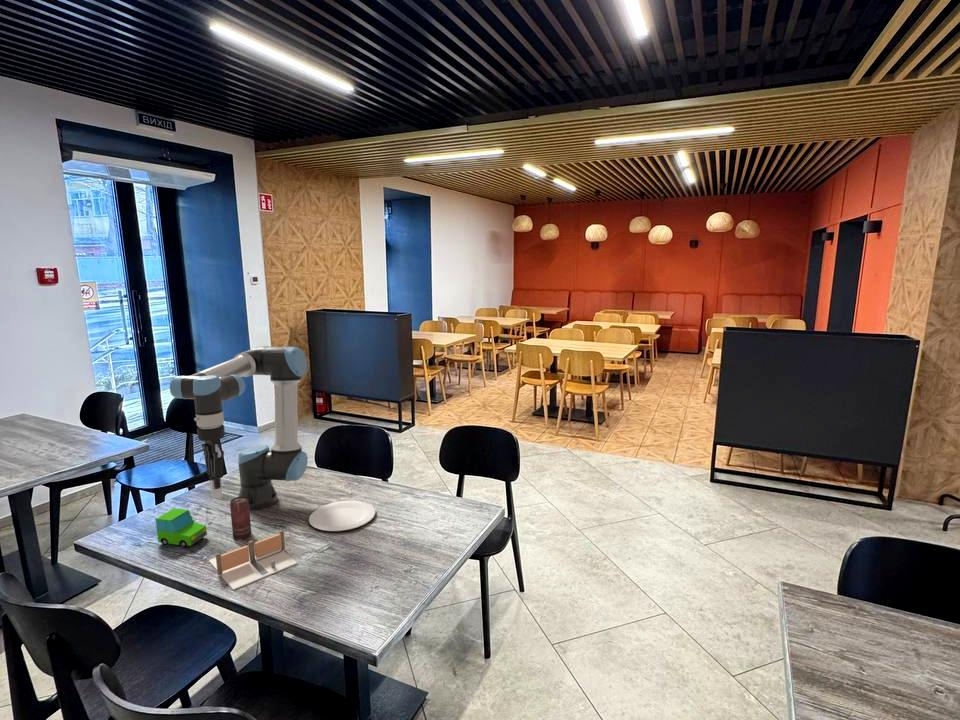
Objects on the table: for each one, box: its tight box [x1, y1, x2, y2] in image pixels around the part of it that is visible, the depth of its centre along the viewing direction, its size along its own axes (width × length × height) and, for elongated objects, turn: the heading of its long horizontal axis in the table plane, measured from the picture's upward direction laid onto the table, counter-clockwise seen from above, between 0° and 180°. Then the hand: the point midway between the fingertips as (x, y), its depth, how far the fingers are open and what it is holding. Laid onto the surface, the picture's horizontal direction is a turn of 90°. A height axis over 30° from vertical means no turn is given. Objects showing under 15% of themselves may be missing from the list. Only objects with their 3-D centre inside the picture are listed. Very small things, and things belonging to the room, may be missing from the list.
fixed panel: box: [248, 529, 286, 563], centre depth 171 cm, size 12×2×7 cm, turn 135°
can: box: [229, 497, 252, 541], centre depth 183 cm, size 6×6×14 cm
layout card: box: [208, 542, 298, 591], centre depth 168 cm, size 20×22×2 cm
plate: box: [308, 500, 376, 533], centre depth 198 cm, size 25×25×2 cm
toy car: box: [155, 507, 208, 549], centre depth 180 cm, size 10×13×10 cm
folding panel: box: [215, 545, 249, 576], centre depth 163 cm, size 10×1×7 cm, turn 135°
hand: (217, 497), depth 163 cm, fingers closed
